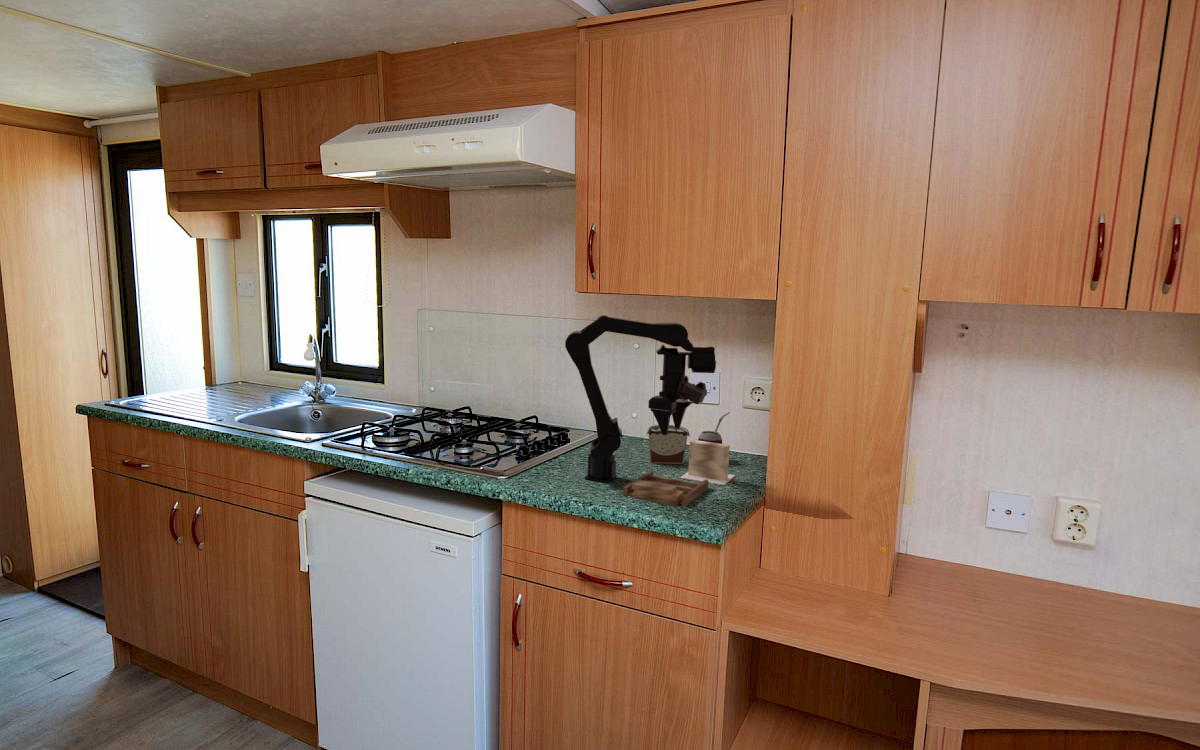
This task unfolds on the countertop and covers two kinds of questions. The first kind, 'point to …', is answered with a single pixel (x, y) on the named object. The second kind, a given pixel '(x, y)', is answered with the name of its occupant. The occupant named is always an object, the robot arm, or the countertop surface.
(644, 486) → the offcut stack
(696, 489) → the rack
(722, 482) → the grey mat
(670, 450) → the food container
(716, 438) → the mate gourd
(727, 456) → the maple panel
